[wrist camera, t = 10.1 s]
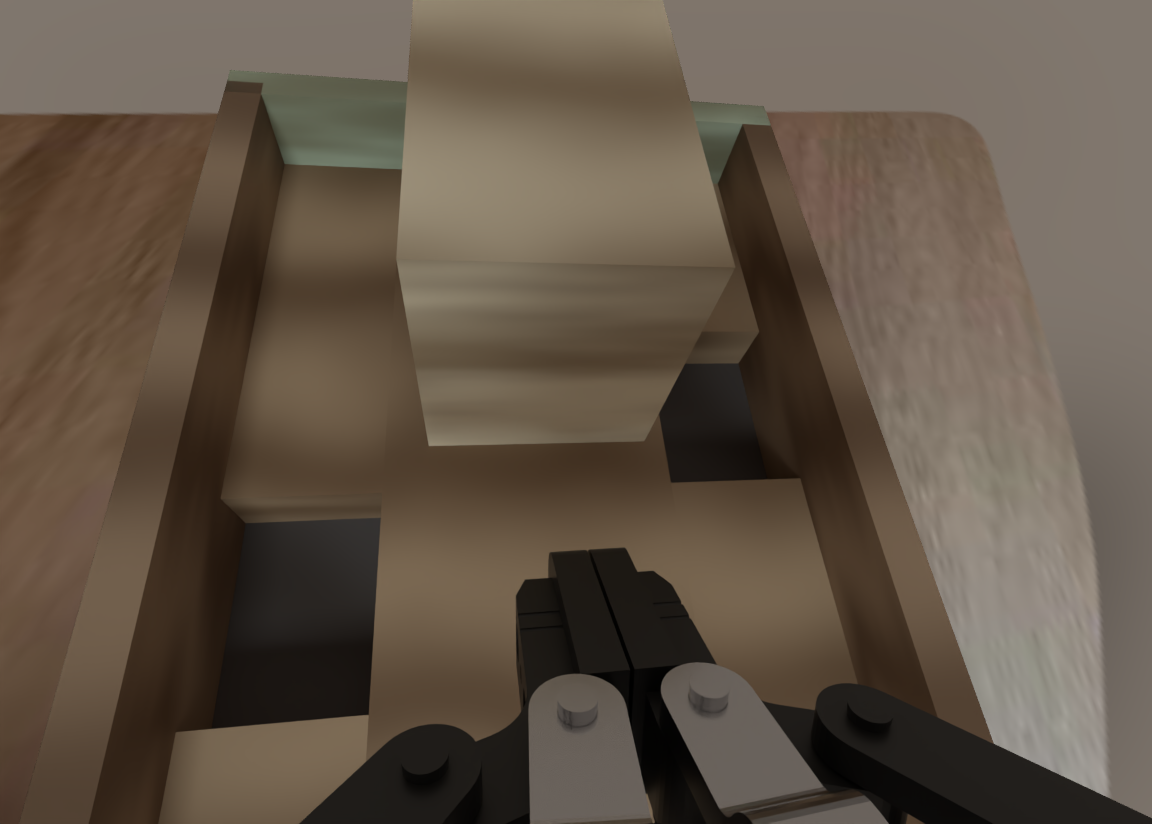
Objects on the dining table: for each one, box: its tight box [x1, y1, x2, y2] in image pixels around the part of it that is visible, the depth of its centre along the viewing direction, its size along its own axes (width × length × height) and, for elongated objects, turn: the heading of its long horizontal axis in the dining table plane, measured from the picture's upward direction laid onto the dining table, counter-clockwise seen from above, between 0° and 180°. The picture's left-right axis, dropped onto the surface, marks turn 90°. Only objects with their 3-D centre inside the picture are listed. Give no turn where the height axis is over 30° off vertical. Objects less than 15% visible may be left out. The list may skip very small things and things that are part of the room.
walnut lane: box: [19, 70, 994, 824], centre depth 19 cm, size 30×20×6 cm
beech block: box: [396, 0, 735, 446], centre depth 19 cm, size 11×7×8 cm, turn 5°
